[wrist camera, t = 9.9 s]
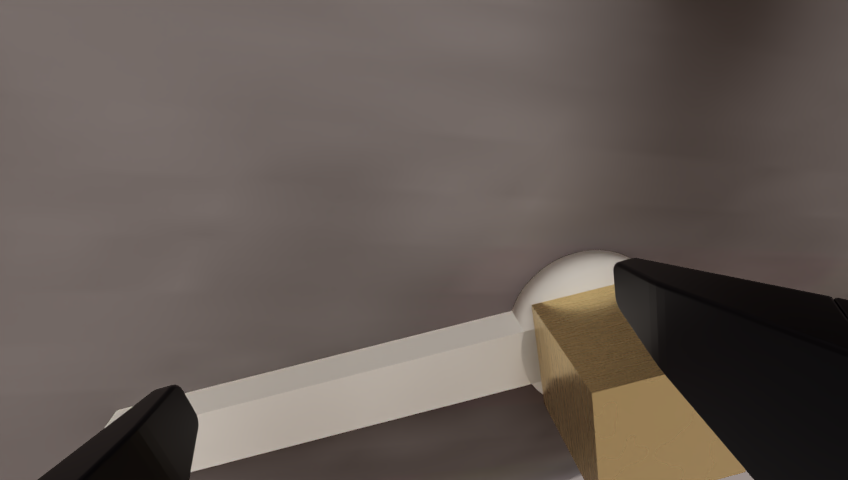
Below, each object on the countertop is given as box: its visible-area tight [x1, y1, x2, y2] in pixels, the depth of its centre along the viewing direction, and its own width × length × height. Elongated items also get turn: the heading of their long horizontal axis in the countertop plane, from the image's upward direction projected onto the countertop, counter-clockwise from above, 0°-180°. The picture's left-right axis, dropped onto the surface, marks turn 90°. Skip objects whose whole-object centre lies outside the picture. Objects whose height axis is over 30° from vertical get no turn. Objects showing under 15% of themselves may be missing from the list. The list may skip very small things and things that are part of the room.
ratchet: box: [105, 250, 630, 472], centre depth 21 cm, size 28×8×6 cm, turn 102°
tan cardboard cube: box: [531, 285, 745, 480], centre depth 19 cm, size 6×6×6 cm
